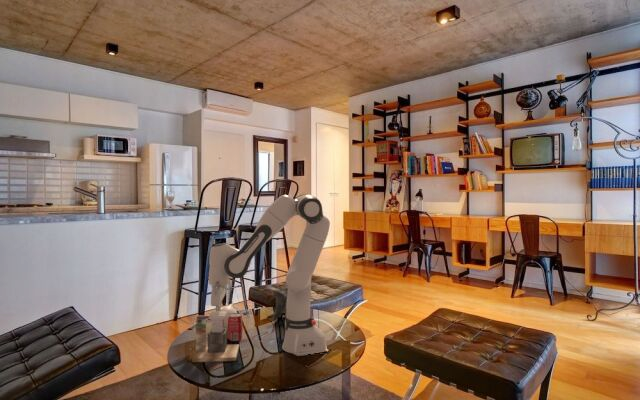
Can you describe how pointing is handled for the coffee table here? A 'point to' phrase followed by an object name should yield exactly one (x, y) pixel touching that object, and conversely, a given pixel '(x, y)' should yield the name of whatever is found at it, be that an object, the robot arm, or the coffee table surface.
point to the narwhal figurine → (279, 302)
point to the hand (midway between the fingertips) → (218, 310)
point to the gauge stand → (213, 345)
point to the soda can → (235, 327)
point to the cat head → (229, 311)
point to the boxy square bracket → (216, 321)
